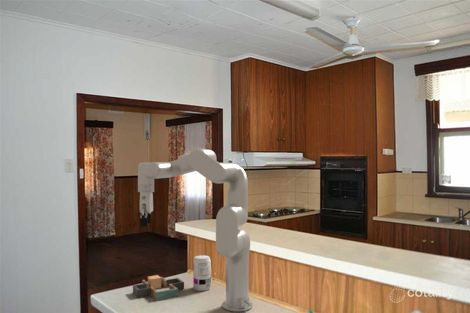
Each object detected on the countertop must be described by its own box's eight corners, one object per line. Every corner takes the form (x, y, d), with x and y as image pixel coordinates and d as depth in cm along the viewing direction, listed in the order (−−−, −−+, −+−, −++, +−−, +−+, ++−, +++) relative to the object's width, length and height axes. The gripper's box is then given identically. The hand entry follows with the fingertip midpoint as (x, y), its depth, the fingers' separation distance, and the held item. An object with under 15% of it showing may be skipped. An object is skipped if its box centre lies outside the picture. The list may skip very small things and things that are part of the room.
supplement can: (190, 290, 176) (190, 258, 176) (198, 285, 183) (198, 254, 184) (206, 292, 173) (206, 259, 173) (213, 286, 181) (213, 255, 181)
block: (161, 288, 179) (161, 277, 179) (150, 290, 177) (150, 279, 177) (157, 285, 184) (157, 275, 184) (147, 287, 181) (147, 276, 181)
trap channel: (190, 294, 170) (190, 286, 170) (142, 303, 159) (142, 295, 159) (173, 282, 188) (173, 275, 188) (129, 289, 177) (129, 282, 177)
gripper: (151, 189, 169) (150, 228, 168) (156, 187, 186) (156, 221, 186) (134, 189, 168) (133, 228, 168) (141, 187, 186) (141, 222, 185)
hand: (145, 224), depth 177 cm, fingers open, 9 cm apart
